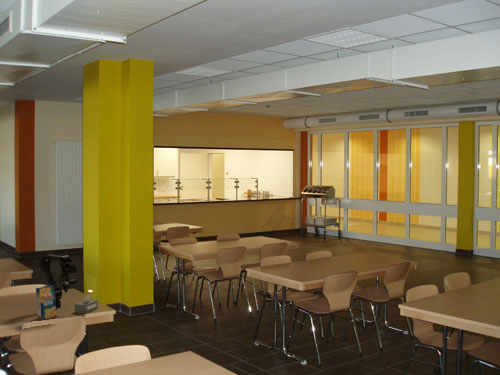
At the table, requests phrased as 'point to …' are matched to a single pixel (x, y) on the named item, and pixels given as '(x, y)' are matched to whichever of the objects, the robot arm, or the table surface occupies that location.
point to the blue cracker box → (46, 302)
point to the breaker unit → (86, 306)
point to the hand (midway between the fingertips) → (65, 292)
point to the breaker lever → (88, 295)
